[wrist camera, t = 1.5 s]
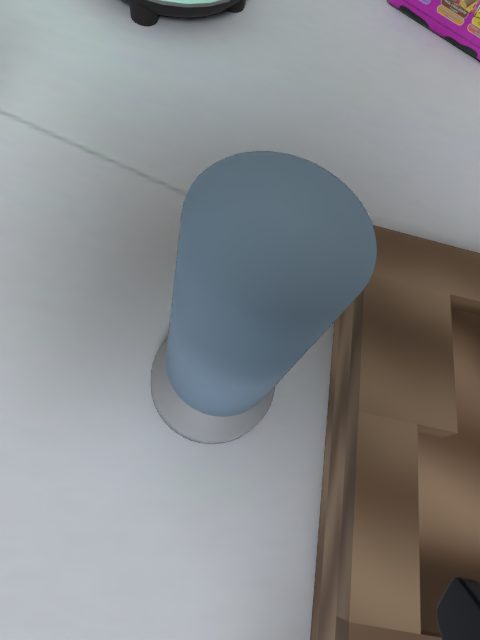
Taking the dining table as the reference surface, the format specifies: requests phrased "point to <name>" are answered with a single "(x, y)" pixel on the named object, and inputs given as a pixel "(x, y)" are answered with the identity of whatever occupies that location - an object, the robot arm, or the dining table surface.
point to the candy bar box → (447, 20)
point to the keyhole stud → (255, 287)
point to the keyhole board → (433, 482)
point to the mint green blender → (179, 8)
